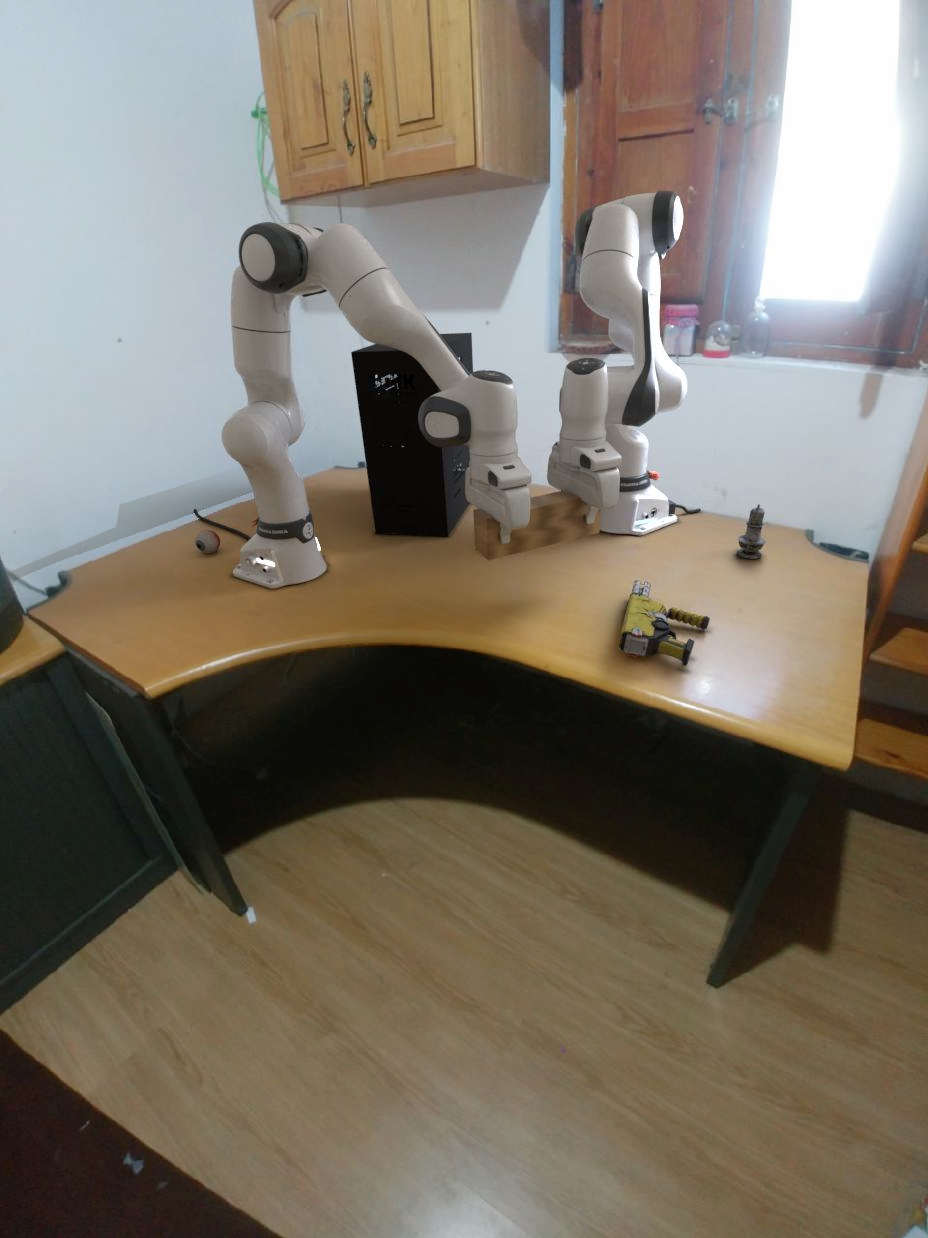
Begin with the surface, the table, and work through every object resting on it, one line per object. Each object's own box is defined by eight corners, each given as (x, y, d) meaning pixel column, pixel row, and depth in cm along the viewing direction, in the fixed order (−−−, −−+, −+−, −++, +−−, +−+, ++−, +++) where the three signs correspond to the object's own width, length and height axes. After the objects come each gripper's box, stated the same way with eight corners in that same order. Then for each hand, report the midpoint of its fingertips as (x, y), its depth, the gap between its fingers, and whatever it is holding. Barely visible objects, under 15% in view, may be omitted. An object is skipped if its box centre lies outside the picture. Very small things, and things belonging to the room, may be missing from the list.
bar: (583, 524, 129) (585, 485, 125) (599, 532, 125) (601, 493, 120) (475, 550, 121) (473, 509, 116) (488, 560, 116) (486, 518, 112)
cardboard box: (448, 536, 158) (435, 349, 135) (375, 533, 162) (351, 351, 140) (477, 490, 189) (471, 332, 167) (416, 489, 194) (401, 335, 171)
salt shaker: (765, 559, 136) (776, 508, 130) (737, 558, 137) (747, 508, 131) (759, 549, 141) (770, 499, 135) (733, 548, 142) (742, 499, 136)
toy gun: (711, 591, 118) (634, 577, 122) (713, 651, 98) (620, 632, 102) (705, 612, 120) (629, 597, 124) (706, 675, 100) (615, 655, 104)
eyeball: (192, 555, 155) (186, 534, 152) (210, 546, 160) (204, 525, 157) (210, 558, 153) (204, 536, 150) (227, 548, 158) (222, 527, 155)
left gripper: (455, 456, 118) (459, 522, 125) (504, 482, 102) (505, 557, 109) (484, 451, 120) (486, 516, 127) (536, 476, 104) (536, 550, 111)
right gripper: (540, 441, 125) (539, 505, 131) (599, 464, 108) (594, 536, 115) (566, 436, 127) (564, 500, 134) (627, 459, 110) (621, 529, 117)
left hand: (495, 536), depth 118 cm, fingers closed on bar, 6 cm apart
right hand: (578, 517), depth 124 cm, fingers closed on bar, 6 cm apart
